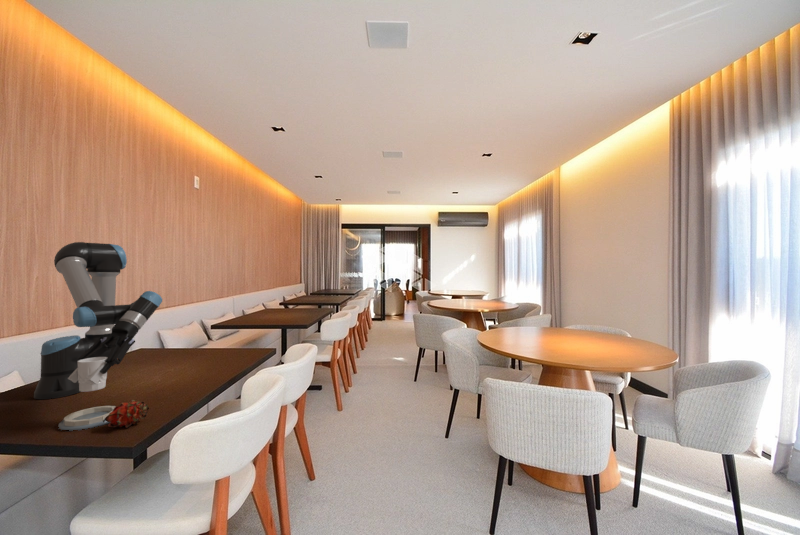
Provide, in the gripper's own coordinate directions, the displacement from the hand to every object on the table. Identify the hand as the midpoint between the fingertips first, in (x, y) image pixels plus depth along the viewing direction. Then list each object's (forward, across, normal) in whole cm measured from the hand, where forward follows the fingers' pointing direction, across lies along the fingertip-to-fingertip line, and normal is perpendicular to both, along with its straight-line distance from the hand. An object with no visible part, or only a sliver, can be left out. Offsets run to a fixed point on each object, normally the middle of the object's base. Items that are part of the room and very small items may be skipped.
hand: (82, 381), depth 114 cm
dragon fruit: (+9, -16, -12) cm, 22 cm away
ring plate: (+8, 0, -13) cm, 15 cm away
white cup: (0, 0, -5) cm, 5 cm away
